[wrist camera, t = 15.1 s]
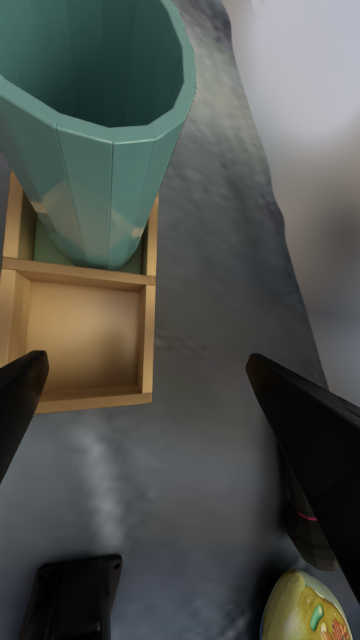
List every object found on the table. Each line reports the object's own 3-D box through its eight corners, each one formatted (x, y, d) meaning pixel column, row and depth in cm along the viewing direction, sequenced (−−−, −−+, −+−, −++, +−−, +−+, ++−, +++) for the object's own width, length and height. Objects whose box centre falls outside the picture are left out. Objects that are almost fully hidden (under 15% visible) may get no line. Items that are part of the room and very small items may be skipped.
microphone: (249, 374, 27) (281, 539, 24) (269, 380, 21) (315, 598, 18) (287, 368, 27) (323, 531, 24) (317, 373, 22) (368, 585, 19)
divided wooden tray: (143, 390, 19) (151, 402, 16) (11, 401, 15) (-15, 419, 12) (150, 197, 21) (159, 170, 17) (32, 164, 17) (14, 122, 14)
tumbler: (99, 289, 17) (87, 189, 5) (29, 226, 16) (-218, -126, 4) (153, 240, 20) (231, 86, 7) (95, 179, 18) (76, -143, 6)
